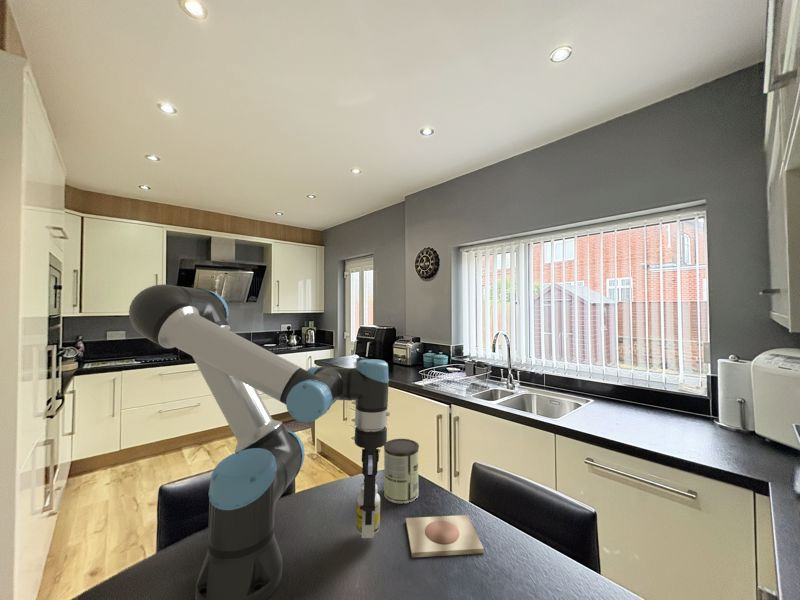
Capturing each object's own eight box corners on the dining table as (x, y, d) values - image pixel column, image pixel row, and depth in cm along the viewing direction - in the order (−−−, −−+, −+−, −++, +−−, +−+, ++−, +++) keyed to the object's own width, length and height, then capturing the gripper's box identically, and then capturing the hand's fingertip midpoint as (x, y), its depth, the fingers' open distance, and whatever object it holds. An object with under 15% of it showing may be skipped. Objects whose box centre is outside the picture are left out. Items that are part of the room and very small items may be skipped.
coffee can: (386, 483, 101) (386, 437, 101) (419, 485, 100) (419, 439, 100) (380, 502, 90) (381, 451, 91) (417, 505, 89) (418, 453, 90)
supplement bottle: (353, 525, 77) (354, 482, 77) (374, 519, 79) (376, 478, 79) (360, 539, 72) (361, 494, 72) (383, 533, 74) (384, 489, 75)
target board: (411, 557, 70) (411, 551, 70) (405, 522, 82) (405, 517, 82) (483, 553, 71) (483, 547, 72) (467, 519, 83) (467, 514, 83)
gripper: (389, 441, 68) (385, 556, 67) (385, 414, 86) (382, 504, 85) (352, 441, 67) (348, 558, 66) (356, 414, 85) (353, 504, 84)
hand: (367, 527), depth 75 cm, fingers closed on supplement bottle, 5 cm apart
